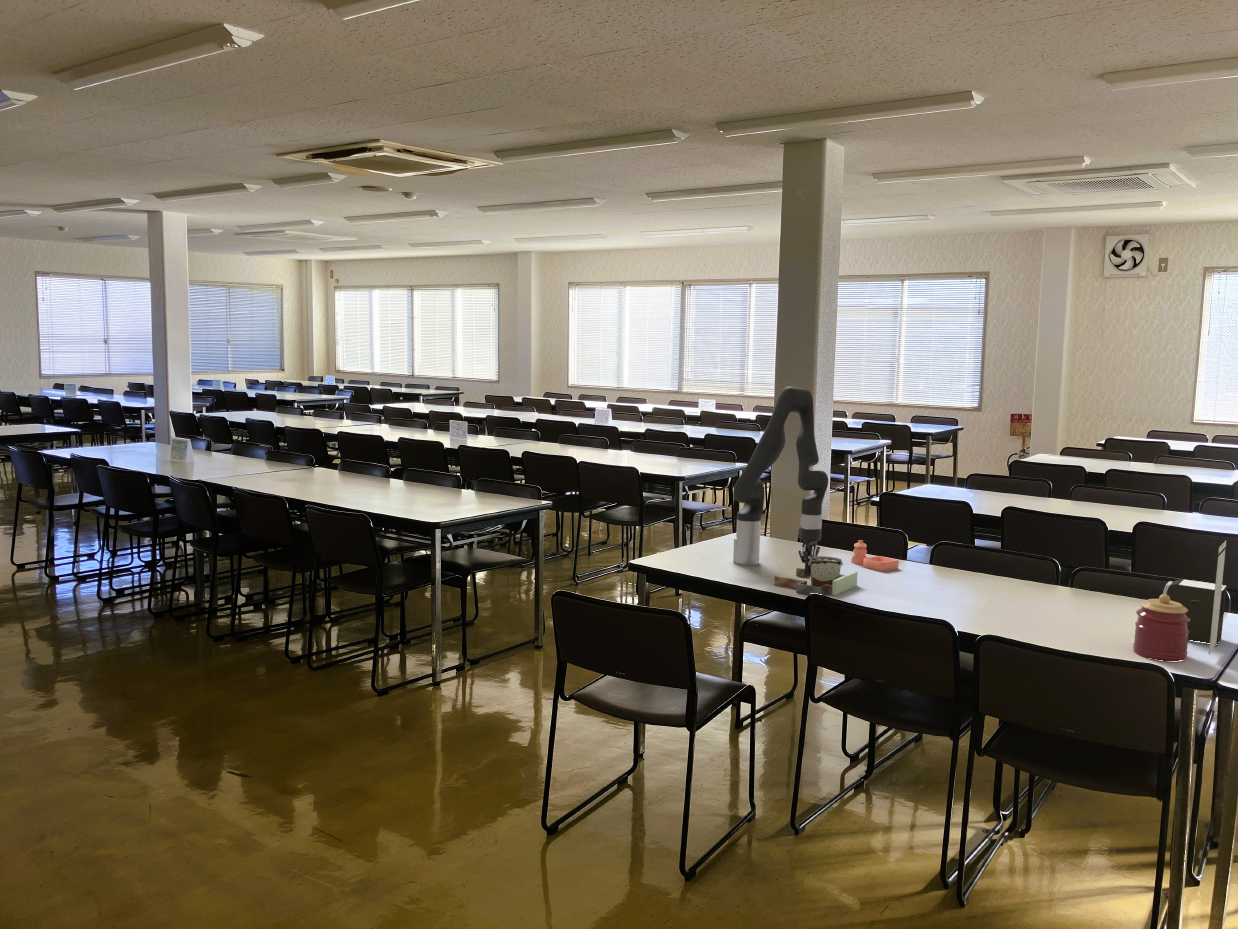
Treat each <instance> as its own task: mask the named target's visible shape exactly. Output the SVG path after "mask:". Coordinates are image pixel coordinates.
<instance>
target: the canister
mask: <svg viewBox="0 0 1238 929" xmlns="http://www.w3.org/2000/svg"><path fill="white" fill-rule="evenodd" d="M1139 604H1140V607H1141V608H1140V609H1137V610H1136V611H1135V613H1136V615H1137V620H1136V622H1135V624H1134V625H1135V628H1134V629H1135V630H1134V642H1133V645H1132V648H1133V652H1134V654H1136V655H1138V656H1140V657H1142V658H1146V659H1148V658H1152V659H1157V660H1163V661H1179V660H1184V659H1187V657H1188V644H1189V641H1188V635H1189V629H1188V622H1189V621H1190V620H1191V618H1190V617H1189V616H1187V615H1186V612H1187V611H1188V609H1187V608H1185V607H1184V606H1183V605H1182V604H1180V603H1178V602H1175V601H1170V597H1169V596H1168V595H1166V594H1163V593H1162V594H1160V595H1159V597H1158V598H1148V599H1146V600H1145V601H1142V602H1140V603H1139ZM1152 659H1151V660H1152Z"/></svg>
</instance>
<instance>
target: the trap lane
mask: <svg viewBox="0 0 1238 929" xmlns="http://www.w3.org/2000/svg"><path fill="white" fill-rule="evenodd" d="M795 576H797V577H802V578H807V577H811V574H810V575H808V574H805V567H804V568H802V567H796V571H795ZM773 581H774V582H773V583H774V585H775V584H778V585H777V586H781V585H783V586H782V587H786V586H788V587H787V588H792V587H793V588H794V589H796V593H797V592H799V593H798V594H803V593H805V594H804V595H808V594H810V593H818V594H822V596H824V595H826V594H827V595H830V596H831V595H832V596H837V595H839V594H841V593H844V592H846V591H847V590H850V589H852V588H855V587H857V586H858V571H852V572H850V573H847V574H840V575H839V578H837V579H835V580H833V585H828V584H825V585H823V586H820V587H815V586H811V584H810V585H808V580H803V579H798V578H793V577H789V576H788V577H787V576H781V575H774V580H773ZM793 588H792V589H793Z"/></svg>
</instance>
